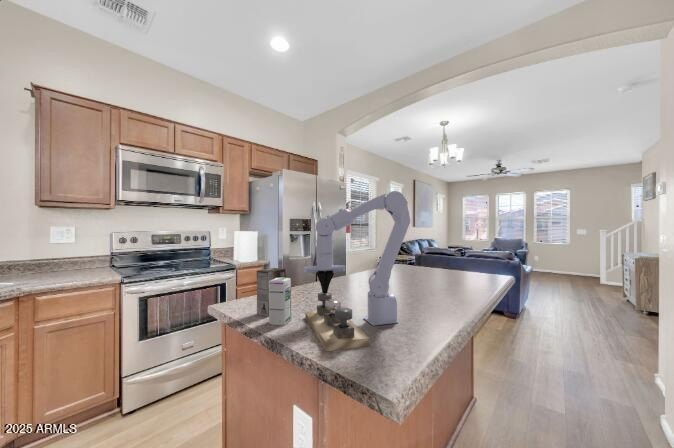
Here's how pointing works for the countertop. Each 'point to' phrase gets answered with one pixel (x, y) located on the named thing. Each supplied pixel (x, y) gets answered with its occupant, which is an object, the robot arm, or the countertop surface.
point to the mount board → (335, 331)
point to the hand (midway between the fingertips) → (324, 292)
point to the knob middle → (332, 305)
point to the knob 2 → (343, 316)
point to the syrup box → (279, 301)
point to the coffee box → (266, 288)
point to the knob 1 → (324, 298)
